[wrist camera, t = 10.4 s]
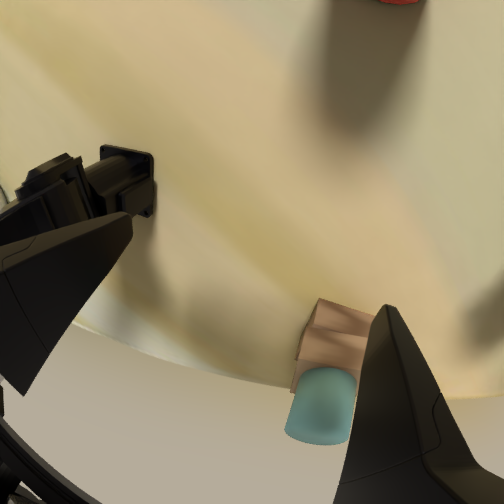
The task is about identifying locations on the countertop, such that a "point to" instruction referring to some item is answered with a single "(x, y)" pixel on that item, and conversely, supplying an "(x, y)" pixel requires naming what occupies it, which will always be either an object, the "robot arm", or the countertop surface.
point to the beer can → (399, 1)
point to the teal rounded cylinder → (322, 407)
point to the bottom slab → (338, 320)
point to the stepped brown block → (330, 353)
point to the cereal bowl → (2, 199)
